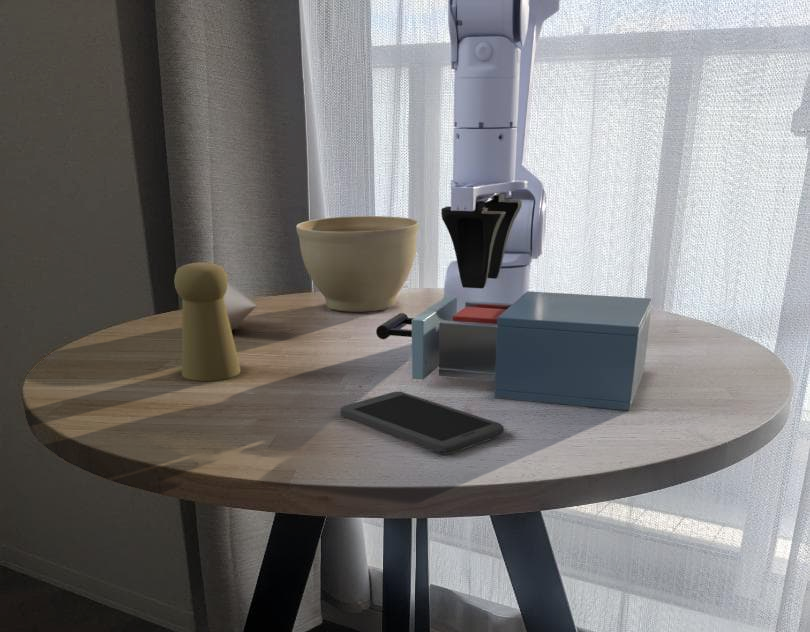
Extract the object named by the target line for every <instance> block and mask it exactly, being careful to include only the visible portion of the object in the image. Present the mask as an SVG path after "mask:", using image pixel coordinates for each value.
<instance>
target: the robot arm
mask: <svg viewBox="0 0 810 632" xmlns="http://www.w3.org/2000/svg"><path fill="white" fill-rule="evenodd" d="M560 6H561V0H447V27H448V33H449V39H450V41H449V42H450V66H451V67H450V68H451V70H454V80H453V82H454V83H453V140H452V141H453V149H452V153H453V154H452V155H453V156H452V179H450V206H445V207H442V208H441V210H440V211H441V219H442V222H443V223H444V225H445V227H446V230H447V231H448V234H449V236H450V239H451V242H452V245H453V250H454V254H455V258H456V260H452V261H451V262H450V263H449V264H448V266H447V268H446V273H445V276H444V283H443V284H444V285H443V299H444V298H445V297H447V296H448V297H457V313H458V312H459V311H461V310H462V309H463V308H465V302H467V301H476V302H492V303H507V304H513V303H515V302H516V301H517V300H518V299H519V298H520V297H521V296H522V295H524V294H525V293H526V292H527V291H530V282H531V268H532V267H531V266H532V261H533V260H538V259H539V258H540V256H542V254H543V253H544V247H545V239H546V224H547V189H546V188H545V185H544V183H543V182H542V180H540V179H539V178H538V177H537V176H536V175H535V174H533V172H531V171H530V170H529V169H528V168H526V157H527V146H528V136H529V123H530V114H531V105H532V92H533V82H534V70H535V60H536V51H537V50H536V49H537V46H538V42H539V38H540V36H541V32H542V28H543V25H544V22H545V21H546V20H548V19H549V18H551V17H552V16H553V15H555V14H556V13H558V12H559V11H560Z"/></svg>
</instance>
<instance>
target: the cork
mask: <svg viewBox="0 0 810 632" xmlns="http://www.w3.org/2000/svg"><path fill="white" fill-rule="evenodd" d="M173 281H174V283H173V284H174V288H175V290H176V293H177V295H178V296H179V297H180V298H181V302H182V303H181V304H182V305H181V309H182V310H181V312H182V314H181V315H182V317H181V318H182V320H181V334H182V335H181V339H182V340H181V377H183V378H184V379H187V380H189V381H190V380H191V381H195V382H210V381H211V382H213V381H215V382H216V381H222V380H227V379H230V378H234V377H236V376H238V375H239V374H241V365H240V362H239V358H238V354H237V349H236V344H235V340H234V336H233V332H232V331H233V330H231V327H230V323H229V318H228V314H227V310H226V305H225V301H224V295H225V293H226V291H227V286H228V282H229V281H228V275H227V273H226V271H225V269H224V268H223V267H222V266H221V265H219V264H218V263H217V264H216V263H212V262H200V261H199V262H198V261H197V262H192V263H187V264H183V265H181V266H180V267H178V268H177V269H176V272H175V274H174V279H173Z"/></svg>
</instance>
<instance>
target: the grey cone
mask: <svg viewBox="0 0 810 632" xmlns="http://www.w3.org/2000/svg"><path fill="white" fill-rule="evenodd" d="M224 301H225V305H226V310H227V314H228V318H229V323H230V327H231V331H233V330H235V329H236V328H238V327H239V325H240V324H241V323H243V321H244V320H245V319H246V318H247V317H248V316H249V315H250V314H251V313H252V312H253V310H254V309H256V308H257V304H255V302H253V301H252V300H251V299H250V298H249V297H248V296H246V295H245V293H243V292H242V291H241V290H240V289H238V288H237V287H236V286H235V285H234V284H232V283H231V282H229V281H228V286H227V291H226V293H225V295H224Z"/></svg>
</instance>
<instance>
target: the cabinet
mask: <svg viewBox="0 0 810 632" xmlns="http://www.w3.org/2000/svg"><path fill="white" fill-rule="evenodd" d="M652 305H653V298H648V297H632V296H618V295H617V296H615V295H601V294H600V295H599V294H597V295H596V294H583V293H582V294H581V293H566V292H565V293H564V292H547V291H530V290H529V291H527V292H526V293H525V294H524V295H522V296H521V297H520V298H519V299H518V300H517V301H516V302H515V303H513V304H512V305H511V306H510V307H509V308H508V309H507V310H506V311H504V312H503V313H502V314H501V315H500V316H499V317H498V318H497V341H496V367H495V381H494V399H495V398H496V399H505V400H515V401H516V400H517V401H525V402H535V403H547V404H558V405H566V406H567V405H568V406H577V407H587V408H598V409H607V410H619V411H630V410H631V407H632V405H633V403H634V399H635V397H636V394H637V391H638V389H639V386H640V384H641V381H642V378H643V376H644V373H645V364H646V357H647V347H648V339H649V330H650V322H651V313H652Z"/></svg>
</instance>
